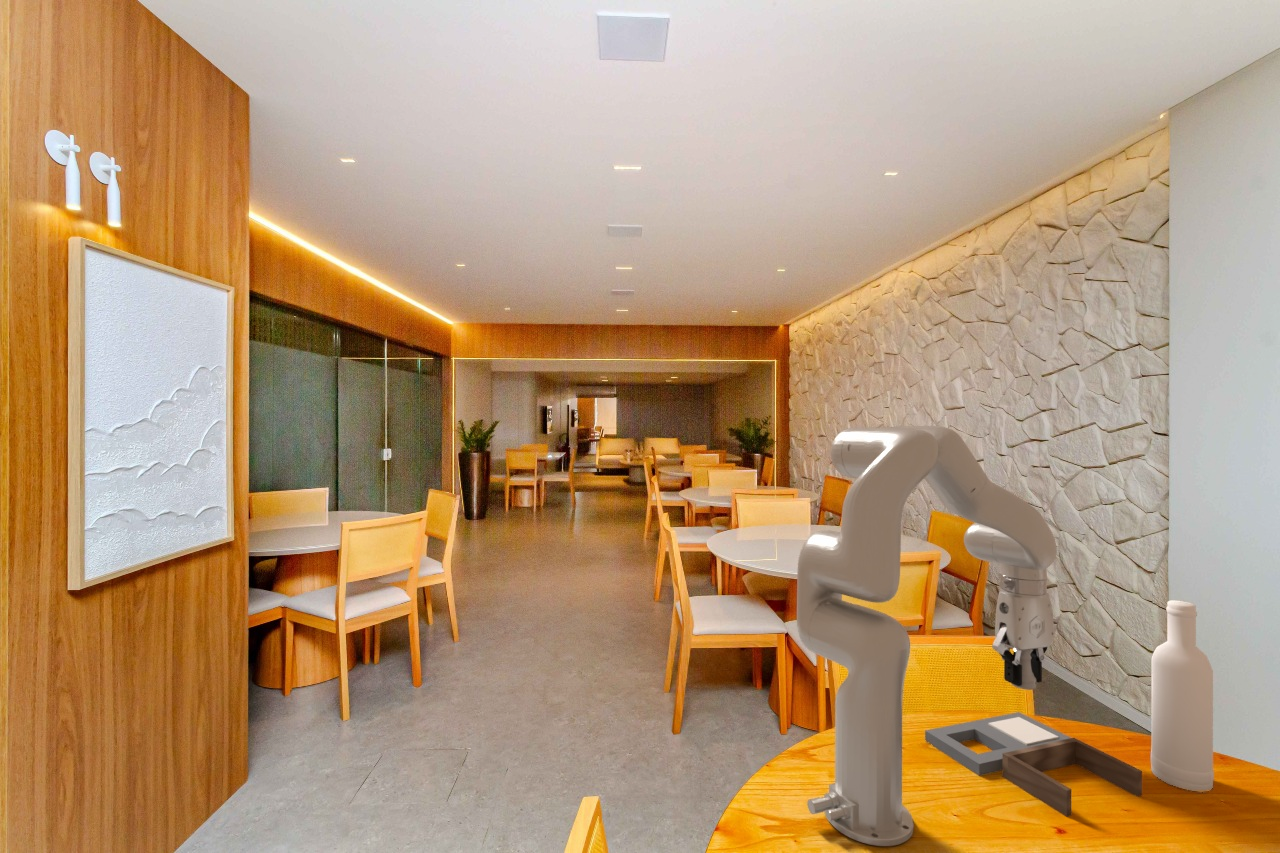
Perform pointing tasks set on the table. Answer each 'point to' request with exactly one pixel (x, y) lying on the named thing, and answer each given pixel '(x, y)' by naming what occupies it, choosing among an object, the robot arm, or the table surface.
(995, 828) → the table surface
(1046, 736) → the hole board
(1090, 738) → the table surface
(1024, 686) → the rook chess piece
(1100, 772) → the walnut pen
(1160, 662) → the bottle
